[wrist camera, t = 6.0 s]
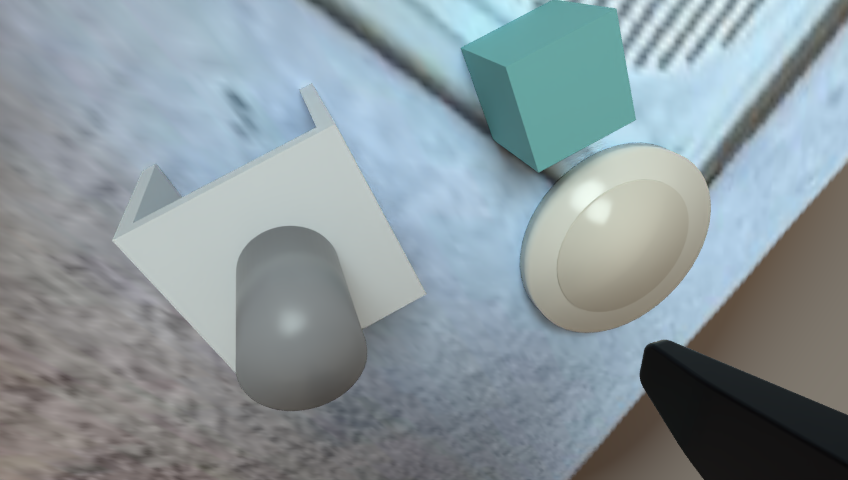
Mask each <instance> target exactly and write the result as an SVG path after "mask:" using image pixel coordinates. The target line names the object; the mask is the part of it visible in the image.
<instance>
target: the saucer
mask: <svg viewBox="0 0 848 480" xmlns="http://www.w3.org/2000/svg"><path fill="white" fill-rule="evenodd" d="M710 213H711V203H710V195H709V190H708V187H707V184H706V181H705V179H704V177H703V175H702V174H701V172H700V171H699V170H698V168H697V167H696V166H695V165H694V164H693V163H692V162H690V161H689V160H688V159H687V158H685V157H683V156H681V155H679V154H677V153H675V152H672V151H670V150H668V149H666V148H664V147H661V146H658V145H654V144H648V143H627V144H622V145H617V146H614V147H611V148H608V149H604V150H602V151H600V152H598V153H596V154H594V155H591V156H590V157H588V158H586V159H585V160H583V161H582V162H580V163H578V164H577V165H576V166H574V167H573V168H572V169H571V170H569V171H568V172H567V173H566V174H565V175H564V176H562V177H561V178H560V179H559V180H558V181H557V182H556V183H555V184H554V186H553V187H552V188H551V189H550V190H549V191H548V193H547V194H546V195H545V197H544V198H543V199H542V201H541V202H540V204H539V205H538V207H537V209H536V210H535V212H534V214H533V216H532V218H531V220H530V222H529V224H528V227H527V229H526V232H525V235H524V239H523V242H522V248H521V254H520V270H521V278H522V281H523V285H524V288H525V290H526V292H527V294H528V296H529V297H530V299H531V300H532V301H533V303H534V304H535V305H536V306H537V308H538V309H539V310H540V311H541V312H542V314H543V315H544V316H545V317H546V318H548V319H549V320H550V321H551V322H553V323H554V324H556V325H557V326H559V327H562V328H564V329H566V330H570V331H575V332H584V333H588V332H600V331H606V330H610V329H613V328H617V327H619V326H622V325H624V324H627V323H629V322H631V321H633V320H635V319H637V318H639V317H641V316H642V315H644V314H645V313H647V312H649V311H650V310H651V309H653V308H654V307H655V306H657V305H658V304H659V303H660V302H661V301H663V300H664V299H665V298H666V297H667V296H668V295H669V294H670V293H671V292H672V291H673V290H674V289H675V288H676V287H677V286H678V285H679V283H680V282H681V281H682V280H683V278H684V277H685V276H686V274H687V273H688V272H689V270H690V269H691V267H692V266H693V264H694V262H695V260H696V259H697V257H698V255H699V253H700V250H701V248H702V246H703V243H704V241H705V238H706V235H707V231H708V227H709V222H710Z"/></svg>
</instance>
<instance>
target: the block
mask: <svg viewBox="0 0 848 480" xmlns="http://www.w3.org/2000/svg"><path fill="white" fill-rule="evenodd" d="M461 50H462V53H463V56H464V58H465V61H466V64H467V67H468V70H469V73H470V75H471V78H472V81H473V84H474V87H475V90H476V92H477V95H478V98H479V101H480V104H481V107H482V109H483V112H484V115H485V118H486V121H487V123H488V126H489V129H490V132H491V135H492V138H493V140H495V141H496V142H497V143H499V144H500V145H501V146H503V147H504V148H506V149H507V150H508V151H510V152H511V153H512V154H514V155H515V156H517V157H518V158H519V159H521V160H522V161H523V162H525V163H526V164H527V165H529V166H530V167H532V168H533V169H534V170H536V171H537V172H538V173H539V172H541V171H542V170H544V169H546V168H548V167H550V166H552V165H553V164H555V163H557V162H559V161H561V160H563V159H565V158H566V157H568V156H570V155H572V154H574V153H576V152H578V151H579V150H581V149H583V148H585V147H587V146H589V145H590V144H592V143H594V142H596V141H598V140H600V139H602V138H603V137H605V136H607V135H609V134H611V133H613V132H614V131H616V130H618V129H620V128H622V127H624V126H626V125H627V124H629V123H631V122H633V121H635V120H636V118H635V112H634V107H633V101H632V95H631V90H630V84H629V78H628V73H627V67H626V61H625V56H624V50H623V44H622V39H621V33H620V27H619V22H618V16H617V10H616V9H615V8H608V7H601V6H594V5H588V4H581V3H574V2H567V1H560V0H552V1H550V2H548V3H546V4H544V5H542V6H540V7H538V8H536V9H534V10H532V11H531V12H529V13H527V14H525V15H523V16H521V17H519V18H517V19H515V20H513V21H511V22H509V23H508V24H506V25H504V26H502V27H500V28H498V29H496V30H494V31H492V32H490V33H488V34H487V35H485V36H483V37H481V38H479V39H477V40H475V41H473V42H471V43H469V44H467V45H465V46H464V47H462V48H461Z"/></svg>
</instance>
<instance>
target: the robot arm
mask: <svg viewBox="0 0 848 480" xmlns="http://www.w3.org/2000/svg"><path fill="white" fill-rule="evenodd" d="M640 381H641V384H642V386H643V388H644V389H645V391H646V393H647V394H648V396H649V398H650V399H651V401H652V402H653V404H654V406H655V407H656V409H657V410H658V412H659V414H660V415H661V417H662V418H663V420H664V422H665V423H666V425H667V426H668V428H669V429H670V431H671V433H672V435H673V436H674V438H675V439H676V441H677V443H678V444H679V446H680V447H681V449H682V450H683V452H684V453H685V455H686V456H687V457H688V459H689V460H690V462H691V463H692V464H693V466H694V467H695V468H696V470H697V471H698V472H699V474H700V475H701V476H702V478H703V479H704V480H848V415H846V414H844V413H842V412H839V411H837V410H834V409H832V408H830V407H827V406H825V405H823V404H820V403H818V402H815V401H813V400H811V399H808V398H805V397H803V396H801V395H799V394H796V393H794V392H791V391H789V390H787V389H784V388H782V387H780V386H777V385H775V384H772V383H770V382H768V381H765V380H763V379H760V378H758V377H756V376H753V375H751V374H748V373H746V372H744V371H741V370H739V369H737V368H734V367H732V366H729V365H727V364H725V363H722V362H720V361H717V360H715V359H713V358H710V357H708V356H705V355H703V354H701V353H698V352H696V351H694V350H691V349H689V348H686V347H684V346H682V345H679V344H677V343H674V342H672V341H669V340H660V341H657V342H653V343H650V344H648V345H647V346H646V347H645V349H644V354H643V359H642V364H641V369H640Z"/></svg>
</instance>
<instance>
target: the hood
mask: <svg viewBox="0 0 848 480" xmlns="http://www.w3.org/2000/svg"><path fill="white" fill-rule="evenodd" d="M299 90H300V92H301V94H302V97H303V99H304V101H305V103H306V105H307V108H308V110H309V112H310V114H311V116H312V119H313V121H314V123H315V125H316V128H314V129H312V130H310V131H308V132H307V133H305V134H303V135H301V136H299V137H297V138H295V139H293V140H291V141H289V142H287V143H285V144H284V145H282V146H280V147H278V148H276V149H274V150H272V151H270V152H268V153H266V154H264V155H262V156H261V157H259V158H257V159H255V160H253V161H251V162H249V163H247V164H245V165H243V166H241V167H239V168H238V169H236V170H234V171H232V172H230V173H228V174H226V175H224V176H222V177H220V178H218V179H217V180H215V181H213V182H211V183H209V184H207V185H205V186H203V187H201V188H199V189H197V190H195V191H194V192H192V193H190V194H188V195H186V196H184V197H182V196H181V195H180V194H179V192H178V191H177V190H176V189H175V187H174V186H173V185H172V184H171V182H170V181H169V180H168V179H167V177H166V176H165V175H164V173H163V172H162V171H161V170H160V168H159V167H158V166H157V165H156V164H154V165H152V166H150V167H148V168H146V169H144V170H143V171H142V173H141V176H140V178H139V180H138V182H137V185H136V187H135V189H134V192H133V194H132V196H131V199H130V201H129V203H128V205H127V208H126V210H125V212H124V215H123V217H122V219H121V222H120V224H119V226H118V228H117V231H116V233H115V235H114V238H113V240H112V241H113V242H114V243H115V244H116V245H117V246H118V247H119V248H120V249H121V250H122V252H123V253H124V254H125V255H126V256H127V257H128V258H129V259H130V260H131V261H132V262H133V263H134V264H135V265H136V267H137V268H138V269H139V270H140V271H141V272H142V273H143V274H144V275H145V276H146V277H147V278H148V279H149V281H150V282H151V283H152V284H153V285H154V286H155V287H156V288H157V289H158V290H159V291H160V292H161V293H162V294H163V296H164V297H165V298H166V299H167V300H168V301H169V302H170V303H171V304H172V305H173V306H174V307H175V308H176V310H177V311H178V312H179V313H180V314H181V315H182V316H183V317H184V318H185V319H186V320H187V321H188V322H189V323H190V325H191V326H192V327H193V328H194V329H195V330H196V331H197V332H198V333H199V334H200V335H201V336H202V337H203V339H204V340H205V341H206V342H207V343H208V344H209V345H210V346H211V347H212V348H213V349H214V350H215V351H216V352H217V354H218V355H219V356H220V357H221V358H222V359H223V360H224V361H225V362H226V363H227V364H228V365H229V366H230V368H231V369H232V370H233V371H234V372H235V373H236V375H237V379H238V382H239V384H240V386H241V388H242V389H243V390H244V392H245V393H246V394H247V395H248V396H249V397H250V398H251V399H253V400H254V401H256V402H257V403H259V404H261V405H264V406H266V407H269V408H272V409H277V410H284V411H299V410H307V409H312V408H315V407H319V406H322V405H324V404H327V403H329V402H331V401H333V400H335V399H336V398H338V397H340V396H341V395H342V394H344V393H345V392H346V391H348V390H349V389H350V388H351V387H352V386H353V385H354V383H355V382H356V381H357V380H358V378H359V377H360V375H361V374H362V372H363V369H364V367H365V364H366V360H367V344H366V340H365V337H364V334H363V331H362V329H364V328H366V327H367V326H369V325H371V324H373V323H375V322H377V321H378V320H380V319H382V318H384V317H386V316H387V315H389V314H391V313H393V312H395V311H397V310H398V309H400V308H402V307H404V306H406V305H408V304H409V303H411V302H413V301H415V300H417V299H418V298H420V297H422V296H424V295H426V292H425V291H424V289H423V287H422V285H421V283H420V281H419V279H418V277H417V276H416V274H415V272H414V270H413V268H412V266H411V264H410V262H409V261H408V259H407V257H406V255H405V253H404V251H403V249H402V248H401V246H400V244H399V242H398V240H397V238H396V236H395V234H394V233H393V231H392V229H391V227H390V225H389V223H388V221H387V219H386V218H385V216H384V214H383V212H382V210H381V208H380V206H379V204H378V203H377V201H376V199H375V197H374V195H373V193H372V191H371V190H370V188H369V186H368V184H367V182H366V180H365V178H364V176H363V175H362V173H361V171H360V169H359V167H358V165H357V163H356V161H355V160H354V158H353V156H352V154H351V152H350V150H349V148H348V147H347V145H346V143H345V141H344V139H343V137H342V135H341V133H340V132H339V130H338V128H337V126H336V124H335V122H334V121H333V119H332V117H331V115H330V114H329V112H328V110H327V108H326V107H325V105H324V103H323V101H322V100H321V98H320V96H319V95H318V93H317V91H316V89H315V88H314V86H313V84H312V83H311V84H309V85H307V86H305V87H303V88H301V89H299Z"/></svg>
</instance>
